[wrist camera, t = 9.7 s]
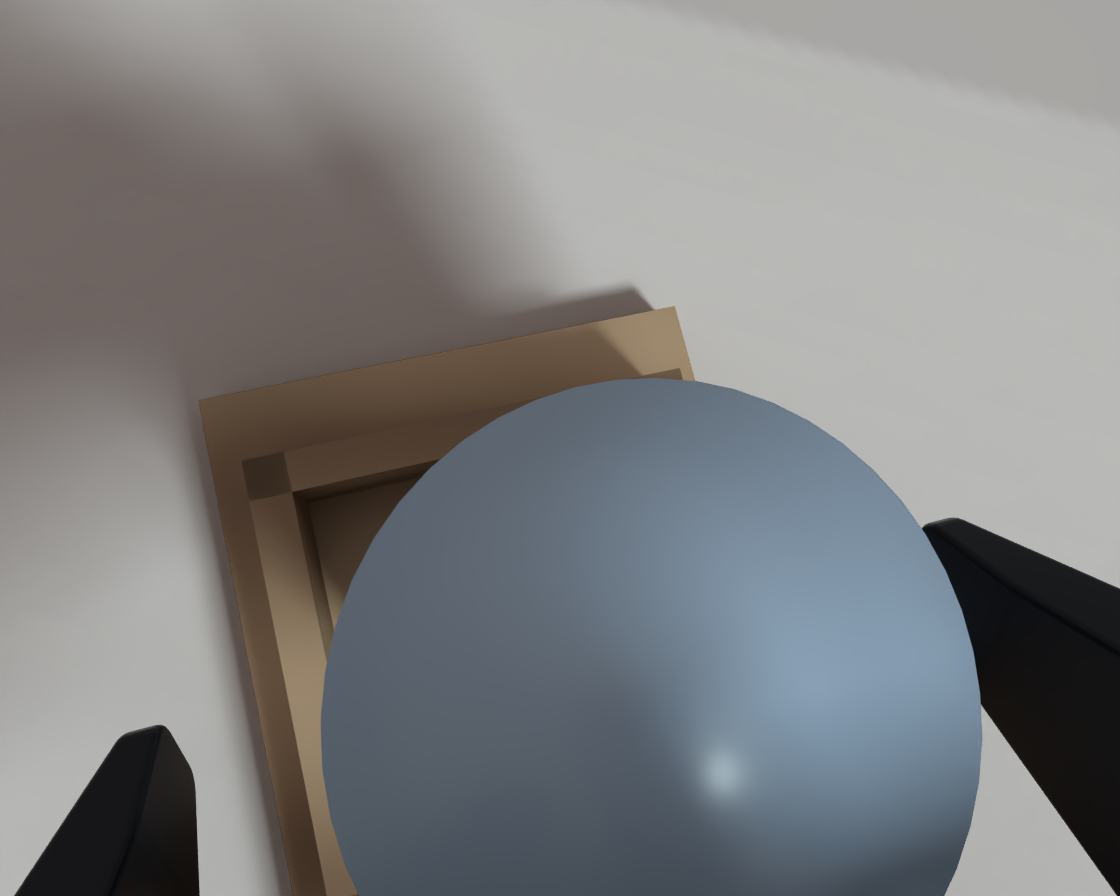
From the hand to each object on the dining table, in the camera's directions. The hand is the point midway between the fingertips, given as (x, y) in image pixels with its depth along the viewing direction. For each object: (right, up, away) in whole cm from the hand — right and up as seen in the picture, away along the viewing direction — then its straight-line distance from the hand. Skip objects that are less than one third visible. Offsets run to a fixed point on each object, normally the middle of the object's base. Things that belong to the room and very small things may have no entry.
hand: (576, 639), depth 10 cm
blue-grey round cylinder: (-1, -2, +8) cm, 9 cm away
